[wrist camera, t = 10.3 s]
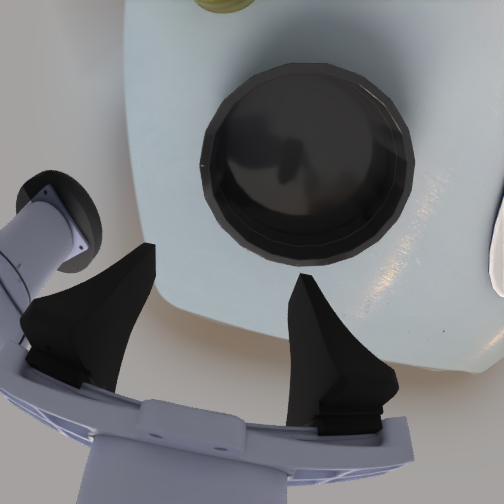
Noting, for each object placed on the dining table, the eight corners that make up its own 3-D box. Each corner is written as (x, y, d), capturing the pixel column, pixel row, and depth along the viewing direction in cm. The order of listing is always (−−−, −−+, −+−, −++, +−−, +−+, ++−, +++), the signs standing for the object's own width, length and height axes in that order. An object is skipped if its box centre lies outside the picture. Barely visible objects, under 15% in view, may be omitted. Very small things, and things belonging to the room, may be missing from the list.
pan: (255, 255, 24) (253, 287, 21) (182, 110, 17) (162, 118, 14) (403, 208, 21) (423, 233, 17) (360, 47, 14) (381, 40, 11)
